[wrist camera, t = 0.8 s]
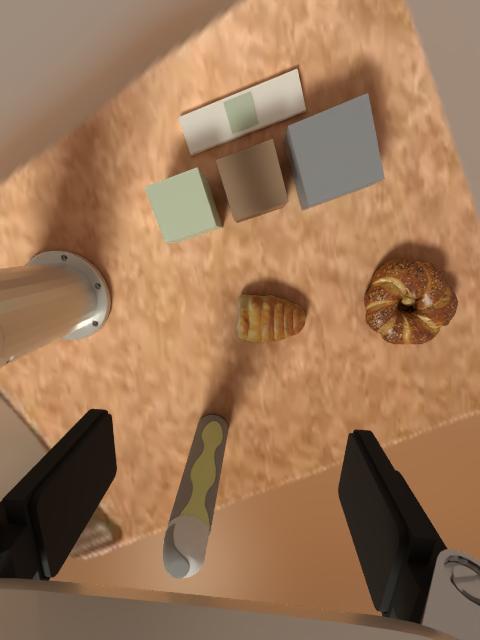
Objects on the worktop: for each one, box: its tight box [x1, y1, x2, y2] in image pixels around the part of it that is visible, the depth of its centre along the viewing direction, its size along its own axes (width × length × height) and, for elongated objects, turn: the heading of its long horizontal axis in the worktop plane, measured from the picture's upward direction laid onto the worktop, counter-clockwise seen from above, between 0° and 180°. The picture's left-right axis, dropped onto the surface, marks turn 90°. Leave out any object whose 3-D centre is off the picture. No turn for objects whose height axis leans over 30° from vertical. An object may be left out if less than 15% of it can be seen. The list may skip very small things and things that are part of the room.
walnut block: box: [216, 139, 288, 223], centre depth 31 cm, size 6×6×6 cm
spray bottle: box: [163, 415, 228, 578], centre depth 34 cm, size 5×5×20 cm
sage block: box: [145, 167, 223, 243], centre depth 32 cm, size 6×6×6 cm
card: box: [178, 69, 306, 156], centre depth 32 cm, size 14×4×1 cm, turn 108°
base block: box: [284, 93, 384, 211], centre depth 31 cm, size 8×8×5 cm
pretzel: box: [364, 258, 458, 344], centre depth 35 cm, size 12×11×4 cm
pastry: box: [237, 294, 306, 343], centre depth 37 cm, size 9×7×4 cm
